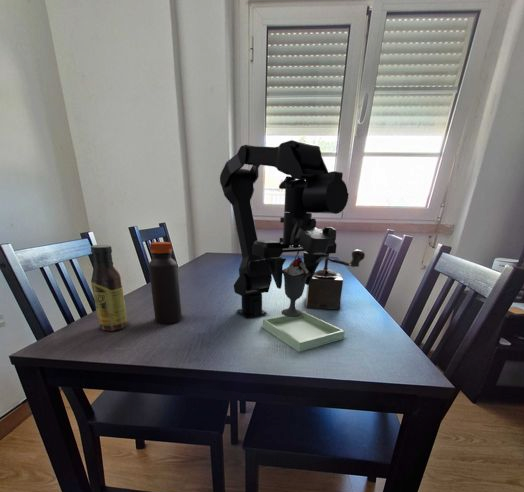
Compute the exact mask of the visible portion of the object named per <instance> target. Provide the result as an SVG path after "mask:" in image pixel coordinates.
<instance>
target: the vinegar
mask: <svg viewBox="0 0 524 492" xmlns="http://www.w3.org/2000/svg"><path fill="white" fill-rule="evenodd" d="M149 247H150V253H151V255H152V259H151V260H150V261H149V263H148V272H149V280H150V288H151V296H152V297H151V298H152V306H153V312H154V321H155V322H156V323H158V324H162V325H169V324H175V323H178V322H180V321H182V318H183V316H182V304H181V293H180V283H179V282H180V281H179V271H178V270H179V269H178V263H177V261H176V260H175V259H173V258H172V254H173V245H172V242H169V241H153V242H150V243H149Z"/></svg>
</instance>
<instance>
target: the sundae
mask: <svg viewBox="0 0 524 492" xmlns="http://www.w3.org/2000/svg"><path fill="white" fill-rule="evenodd" d="M299 253H300V251H298V252H296V255H295V257H294V260H292V261H291V262H290V263H289V265H288V267H285V268H284V269H283V270H282V276H283V283H284V284H283V285H284V294H285V296H286V297H287V299H289V300H290V302H289V307H288V308H285V309H282V311H281V314H282V316H284V315H285V316H287V317H299V316H301V315H302V312H303V311H301V310H300V309H297V308H296V302H297V300H299V299H300V298H301V297H303V293H304V292H305V291H304V290H305V286H306V284H305V283H306V280H307V277H308V276H310V275H311V273H310V272H309V271H308V269H306V265H305V263H304V260H303V259H302V257H300V256H299Z"/></svg>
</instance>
